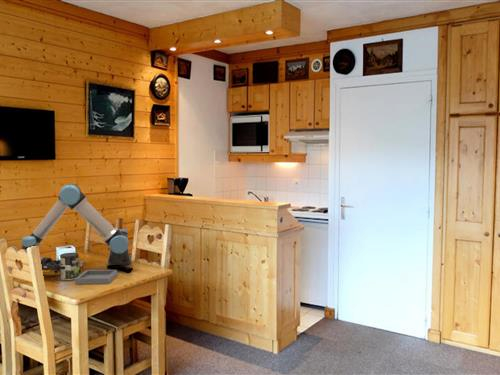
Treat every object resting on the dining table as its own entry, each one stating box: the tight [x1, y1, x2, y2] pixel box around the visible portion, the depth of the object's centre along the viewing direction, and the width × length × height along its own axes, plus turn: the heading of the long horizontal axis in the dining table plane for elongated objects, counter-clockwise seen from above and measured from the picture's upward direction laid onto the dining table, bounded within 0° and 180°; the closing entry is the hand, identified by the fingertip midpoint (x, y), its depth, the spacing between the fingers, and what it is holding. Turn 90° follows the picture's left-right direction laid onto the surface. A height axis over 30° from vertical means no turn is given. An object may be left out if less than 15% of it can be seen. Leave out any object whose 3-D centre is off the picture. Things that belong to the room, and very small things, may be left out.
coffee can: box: [59, 252, 80, 281], centre depth 268 cm, size 10×10×14 cm
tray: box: [74, 269, 118, 285], centre depth 265 cm, size 18×18×3 cm
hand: (76, 265), depth 267 cm, fingers closed on coffee can, 10 cm apart
